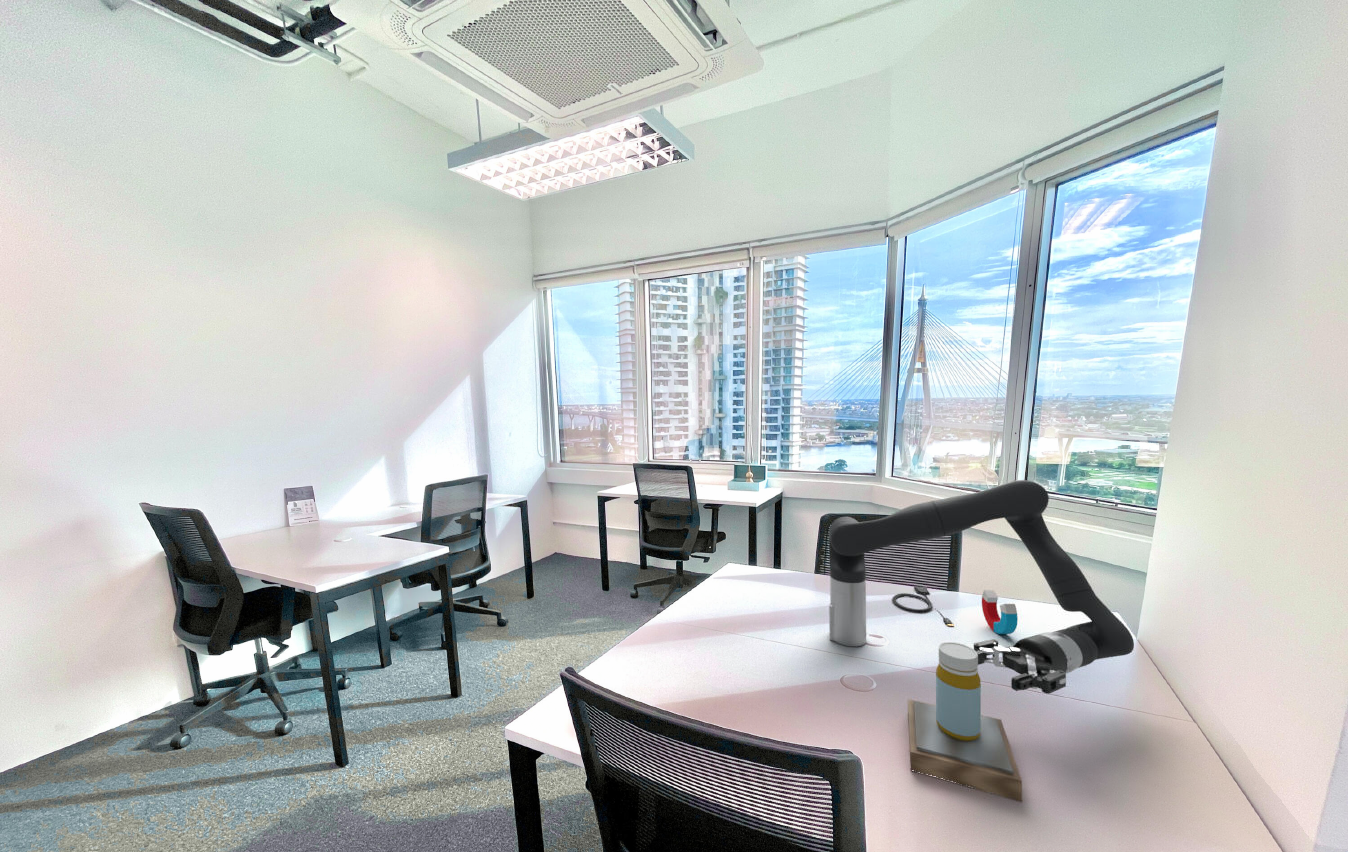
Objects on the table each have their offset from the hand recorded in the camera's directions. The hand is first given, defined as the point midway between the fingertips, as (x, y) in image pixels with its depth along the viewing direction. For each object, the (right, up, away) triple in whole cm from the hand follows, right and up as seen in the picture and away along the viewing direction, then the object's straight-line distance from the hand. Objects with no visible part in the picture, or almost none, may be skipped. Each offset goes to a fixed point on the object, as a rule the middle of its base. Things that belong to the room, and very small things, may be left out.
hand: (990, 671), depth 88 cm
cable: (+18, -11, +61) cm, 65 cm away
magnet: (+31, -11, +42) cm, 54 cm away
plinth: (-8, -14, -2) cm, 16 cm away
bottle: (-7, -10, -2) cm, 12 cm away
